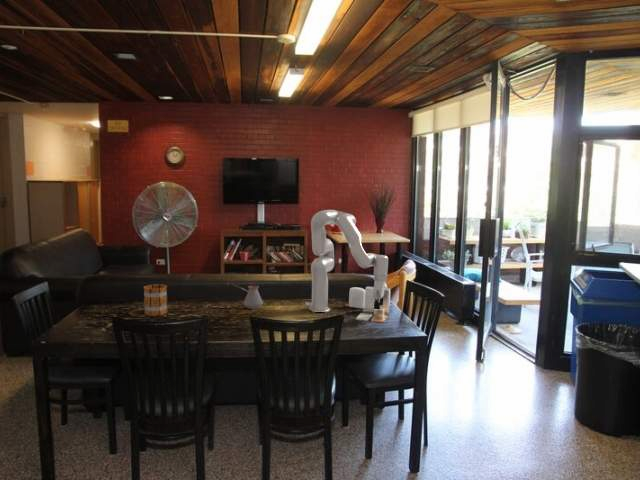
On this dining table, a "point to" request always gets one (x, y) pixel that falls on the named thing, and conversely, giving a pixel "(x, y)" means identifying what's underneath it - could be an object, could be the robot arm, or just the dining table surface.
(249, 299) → the coffee pot
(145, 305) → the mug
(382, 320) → the terracotta pad
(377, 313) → the birch block
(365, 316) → the sage pad
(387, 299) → the wall unit
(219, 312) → the dining table surface
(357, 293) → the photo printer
